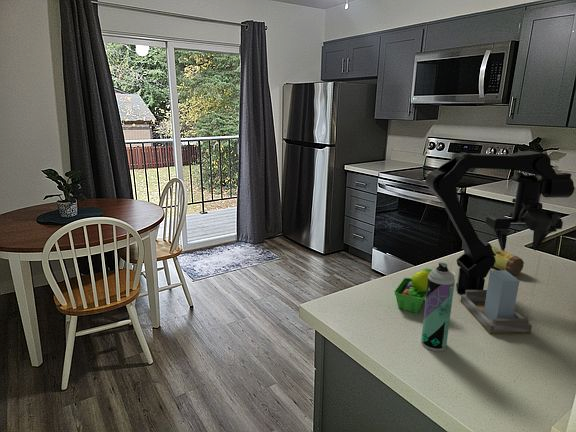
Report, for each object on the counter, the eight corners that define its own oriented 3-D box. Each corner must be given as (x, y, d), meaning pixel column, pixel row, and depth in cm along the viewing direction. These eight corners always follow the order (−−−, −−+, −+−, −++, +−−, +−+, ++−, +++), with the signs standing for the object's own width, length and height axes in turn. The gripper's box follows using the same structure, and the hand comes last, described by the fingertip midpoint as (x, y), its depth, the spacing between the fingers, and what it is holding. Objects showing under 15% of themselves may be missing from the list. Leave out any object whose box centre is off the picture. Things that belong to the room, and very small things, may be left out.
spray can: (426, 334, 93) (434, 257, 87) (449, 343, 89) (460, 263, 84) (417, 345, 88) (425, 264, 83) (441, 354, 85) (452, 271, 80)
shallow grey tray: (460, 301, 108) (461, 289, 107) (495, 301, 108) (497, 289, 107) (489, 333, 93) (491, 320, 92) (530, 333, 93) (533, 320, 92)
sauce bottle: (515, 257, 122) (466, 237, 140) (508, 275, 123) (460, 253, 141) (528, 259, 125) (478, 238, 142) (521, 276, 126) (472, 254, 144)
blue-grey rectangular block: (483, 312, 101) (490, 270, 98) (498, 312, 101) (505, 270, 98) (495, 324, 96) (502, 280, 92) (511, 324, 96) (519, 280, 92)
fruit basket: (403, 292, 114) (406, 257, 111) (434, 300, 109) (438, 263, 106) (392, 309, 104) (395, 271, 101) (425, 318, 100) (430, 278, 97)
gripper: (510, 204, 99) (501, 261, 103) (583, 204, 99) (570, 260, 103) (488, 195, 109) (481, 246, 114) (554, 194, 109) (544, 246, 114)
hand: (518, 250), depth 111 cm, fingers open, 9 cm apart
